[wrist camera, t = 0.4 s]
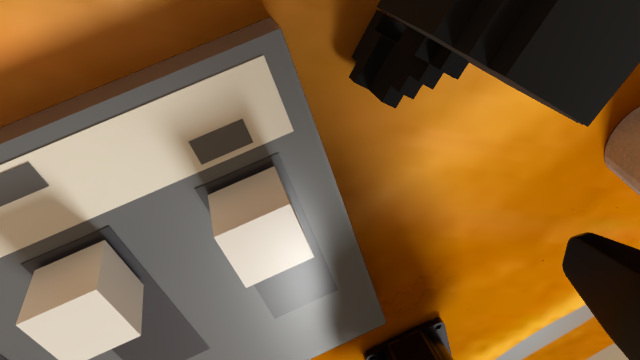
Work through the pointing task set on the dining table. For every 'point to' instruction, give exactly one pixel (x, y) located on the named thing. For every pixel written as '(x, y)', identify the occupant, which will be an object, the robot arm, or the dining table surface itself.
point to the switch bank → (185, 205)
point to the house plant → (626, 150)
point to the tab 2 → (258, 227)
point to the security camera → (504, 48)
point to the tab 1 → (83, 304)
